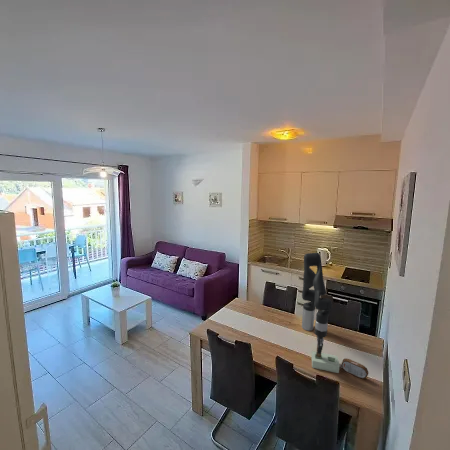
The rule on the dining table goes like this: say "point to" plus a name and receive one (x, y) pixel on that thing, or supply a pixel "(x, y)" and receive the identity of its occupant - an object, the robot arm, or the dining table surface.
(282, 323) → the dining table surface
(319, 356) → the peg
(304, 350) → the dining table surface
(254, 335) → the dining table surface
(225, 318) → the dining table surface
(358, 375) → the tin
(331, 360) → the hole block
